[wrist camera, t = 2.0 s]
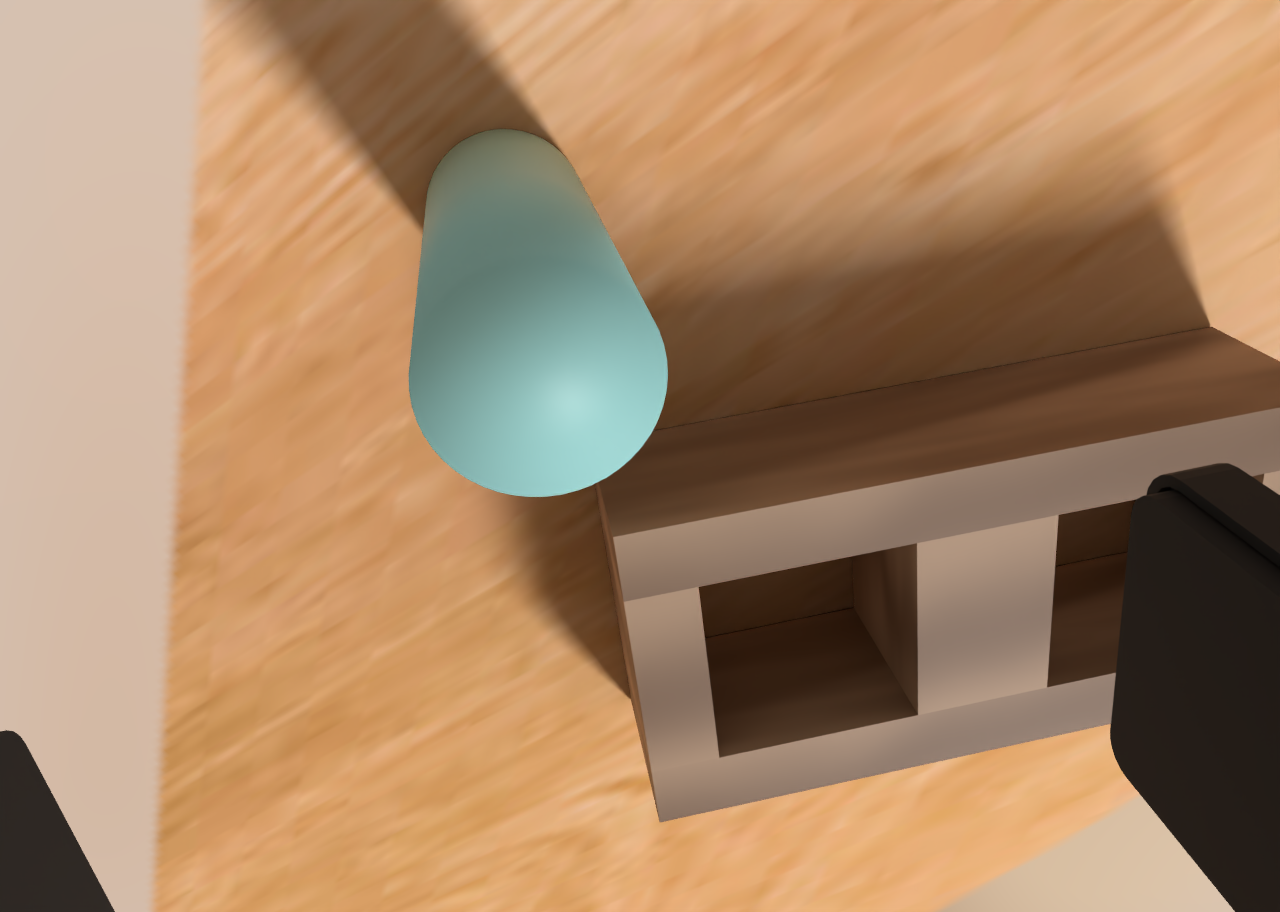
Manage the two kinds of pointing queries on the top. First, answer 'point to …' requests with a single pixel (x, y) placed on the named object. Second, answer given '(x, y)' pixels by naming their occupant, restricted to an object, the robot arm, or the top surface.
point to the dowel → (528, 325)
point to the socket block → (906, 561)
